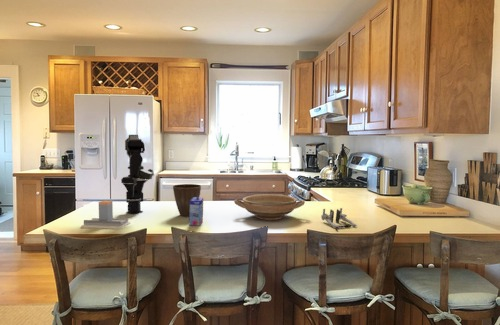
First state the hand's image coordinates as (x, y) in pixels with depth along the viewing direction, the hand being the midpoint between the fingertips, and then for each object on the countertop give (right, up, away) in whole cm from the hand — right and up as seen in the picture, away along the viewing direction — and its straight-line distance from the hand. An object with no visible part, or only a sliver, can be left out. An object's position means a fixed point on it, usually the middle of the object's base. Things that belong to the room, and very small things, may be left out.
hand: (136, 195), depth 182 cm
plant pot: (+23, -12, +16) cm, 30 cm away
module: (-12, -12, -8) cm, 18 cm away
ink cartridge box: (+31, -14, -3) cm, 34 cm away
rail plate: (-12, -14, -7) cm, 19 cm away
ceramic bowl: (+67, -13, +11) cm, 69 cm away
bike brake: (+100, -14, -7) cm, 101 cm away
